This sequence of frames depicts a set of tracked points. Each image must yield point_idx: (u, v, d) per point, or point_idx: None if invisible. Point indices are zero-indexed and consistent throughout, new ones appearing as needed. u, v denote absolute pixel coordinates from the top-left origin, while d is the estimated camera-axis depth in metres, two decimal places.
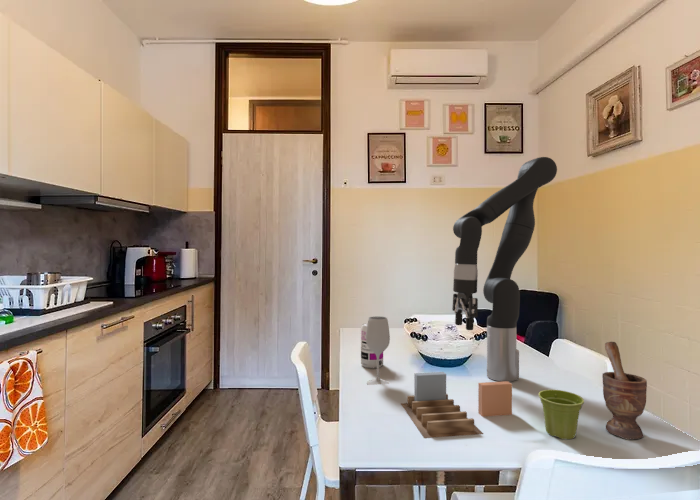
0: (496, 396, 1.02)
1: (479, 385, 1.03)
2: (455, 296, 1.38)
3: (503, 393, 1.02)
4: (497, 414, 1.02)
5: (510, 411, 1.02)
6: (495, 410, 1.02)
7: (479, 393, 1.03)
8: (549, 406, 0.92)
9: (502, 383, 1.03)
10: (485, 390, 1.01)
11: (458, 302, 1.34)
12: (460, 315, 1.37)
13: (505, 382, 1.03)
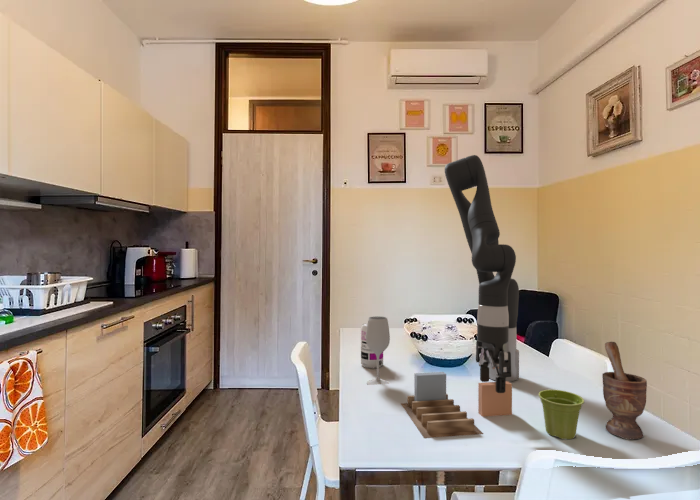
0: (496, 396, 1.02)
1: (479, 385, 1.03)
2: (479, 344, 1.08)
3: (503, 393, 1.02)
4: (497, 414, 1.02)
5: (510, 411, 1.02)
6: (495, 410, 1.02)
7: (479, 393, 1.03)
8: (549, 406, 0.92)
9: None
10: (485, 390, 1.01)
11: (484, 354, 1.04)
12: (486, 369, 1.07)
13: None
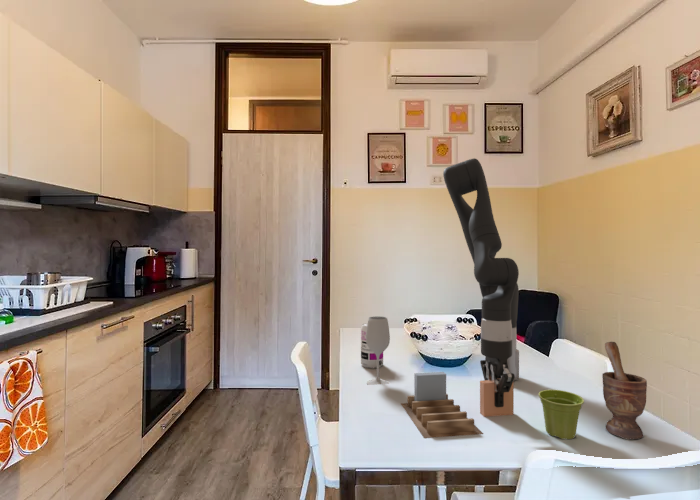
0: None
1: (481, 383, 1.02)
2: (483, 363, 1.08)
3: None
4: (499, 412, 1.02)
5: (512, 409, 1.02)
6: (497, 407, 1.02)
7: (481, 391, 1.02)
8: (549, 406, 0.92)
9: None
10: (487, 388, 1.01)
11: (489, 367, 1.03)
12: None
13: None
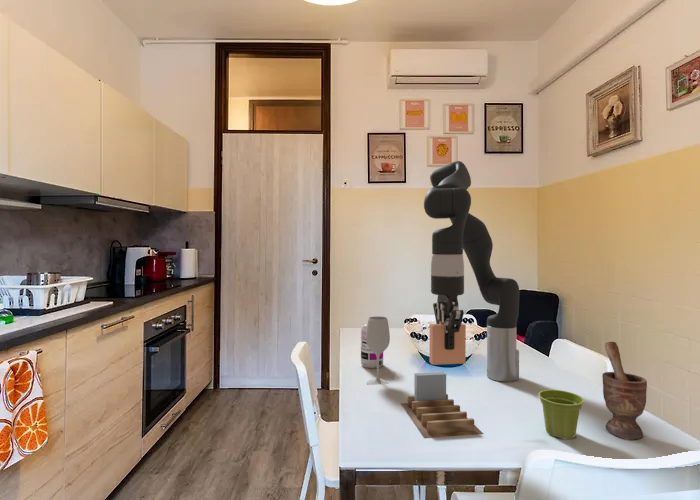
0: None
1: (430, 326, 0.94)
2: (436, 305, 1.00)
3: (455, 334, 0.94)
4: (449, 357, 0.94)
5: (463, 354, 0.94)
6: (447, 352, 0.94)
7: (430, 335, 0.94)
8: (549, 406, 0.92)
9: None
10: (436, 331, 0.93)
11: (439, 307, 0.95)
12: None
13: None
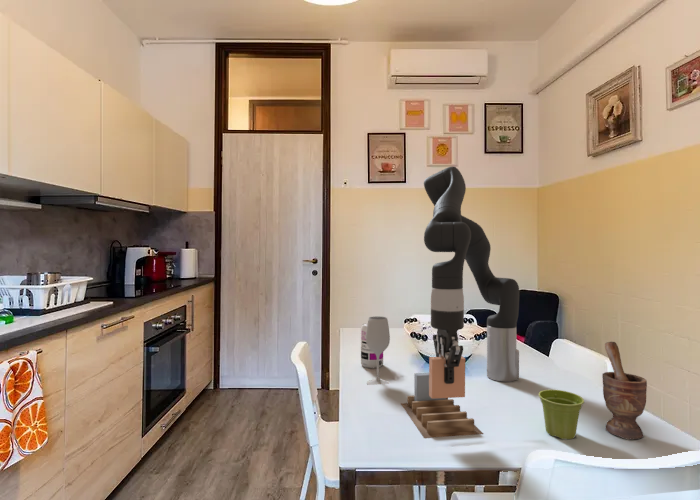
0: None
1: (430, 359, 0.95)
2: (436, 337, 1.00)
3: (455, 368, 0.94)
4: (448, 391, 0.94)
5: (463, 388, 0.94)
6: (447, 386, 0.94)
7: (430, 368, 0.95)
8: (549, 406, 0.92)
9: None
10: (435, 365, 0.93)
11: (439, 341, 0.95)
12: None
13: None
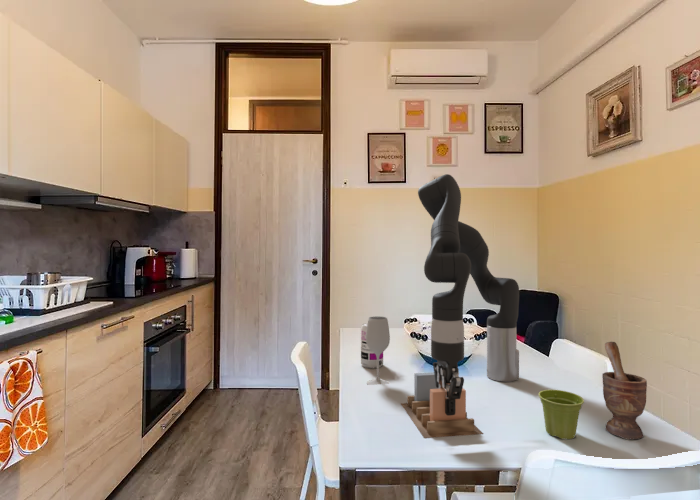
0: None
1: (430, 392, 0.94)
2: (436, 365, 1.00)
3: (455, 400, 0.94)
4: None
5: None
6: (447, 418, 0.94)
7: (430, 400, 0.94)
8: (549, 406, 0.92)
9: None
10: (436, 398, 0.93)
11: (439, 371, 0.95)
12: None
13: None
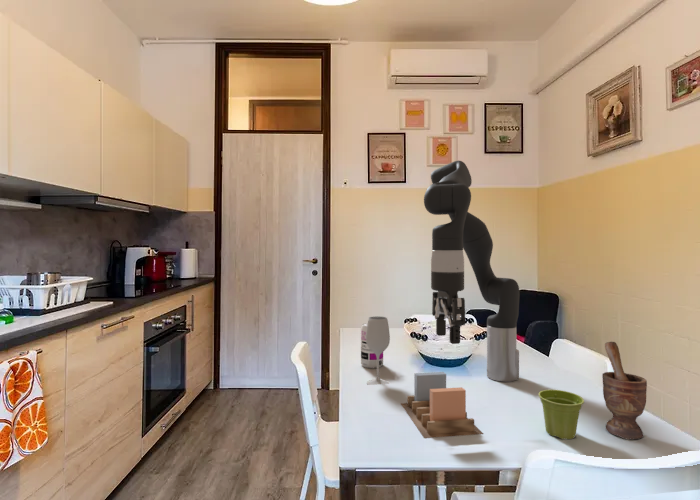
0: (448, 404, 0.94)
1: (430, 392, 0.94)
2: (435, 295, 1.00)
3: (455, 400, 0.94)
4: None
5: None
6: (447, 418, 0.94)
7: (430, 400, 0.94)
8: (549, 406, 0.92)
9: (455, 389, 0.94)
10: (436, 398, 0.93)
11: (439, 304, 0.96)
12: (443, 322, 0.98)
13: (459, 388, 0.95)
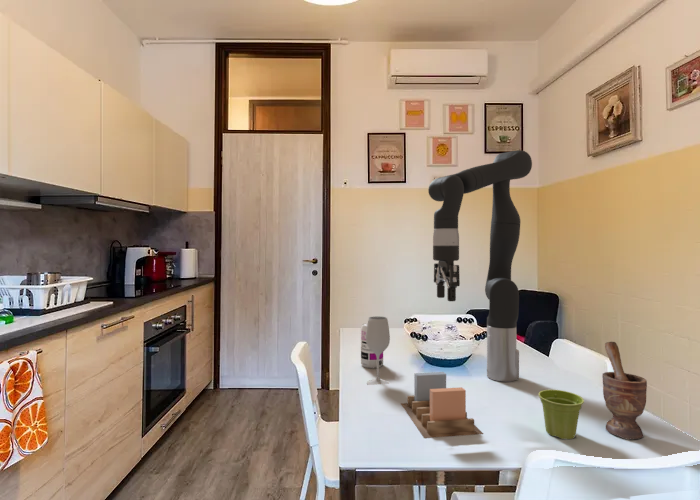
0: (448, 404, 0.94)
1: (430, 392, 0.94)
2: (436, 266, 1.25)
3: (455, 400, 0.94)
4: None
5: None
6: (447, 418, 0.94)
7: (430, 400, 0.94)
8: (549, 406, 0.92)
9: (455, 389, 0.94)
10: (436, 398, 0.93)
11: (439, 272, 1.20)
12: (442, 287, 1.23)
13: (459, 388, 0.95)
